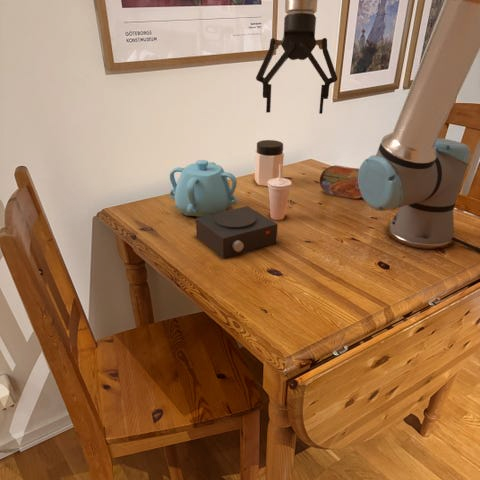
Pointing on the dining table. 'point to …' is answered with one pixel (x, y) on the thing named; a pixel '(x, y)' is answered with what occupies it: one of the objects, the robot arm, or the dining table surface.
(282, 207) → the smoothie
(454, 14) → the robot arm
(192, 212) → the decorative pot
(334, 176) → the tin
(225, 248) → the hot plate
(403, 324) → the dining table surface
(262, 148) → the jar
